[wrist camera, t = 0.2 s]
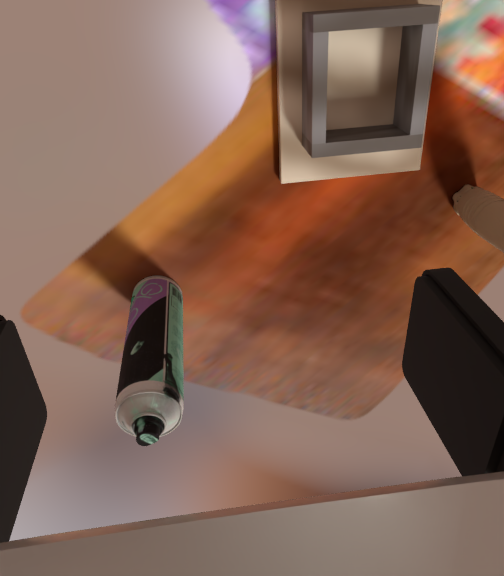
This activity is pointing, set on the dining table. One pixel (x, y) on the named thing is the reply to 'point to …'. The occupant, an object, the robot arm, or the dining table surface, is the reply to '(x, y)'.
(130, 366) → the spray can
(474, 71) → the dining table surface
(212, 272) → the dining table surface
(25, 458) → the robot arm
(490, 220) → the handle
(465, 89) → the dining table surface
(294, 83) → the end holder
